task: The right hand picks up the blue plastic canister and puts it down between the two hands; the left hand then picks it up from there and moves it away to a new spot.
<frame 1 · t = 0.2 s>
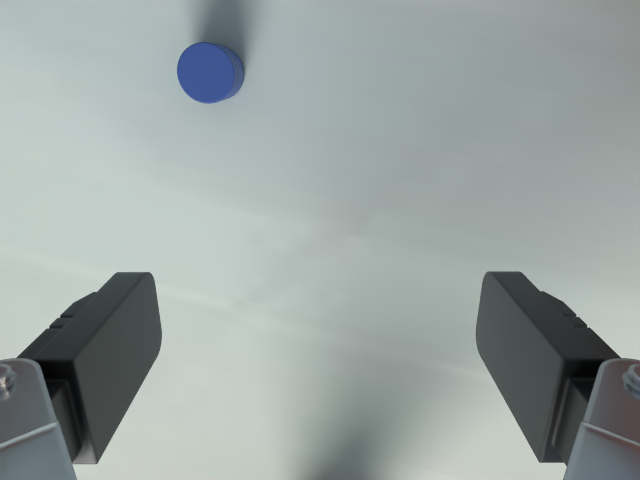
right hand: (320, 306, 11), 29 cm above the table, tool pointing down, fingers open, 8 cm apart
canister: (218, 72, 36), on the table
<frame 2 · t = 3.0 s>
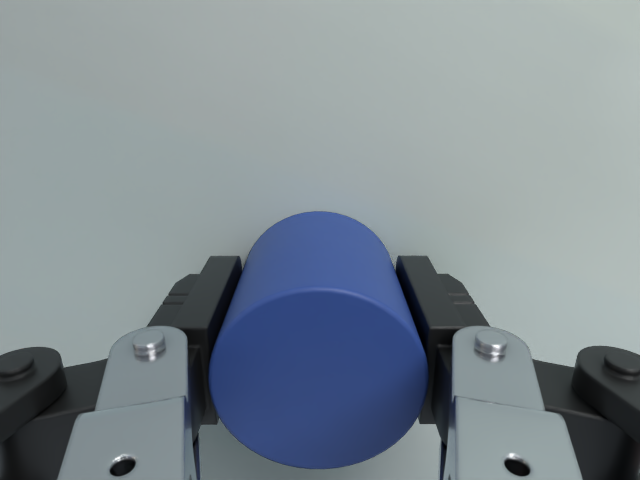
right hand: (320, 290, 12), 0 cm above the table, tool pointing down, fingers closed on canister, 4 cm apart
canister: (318, 281, 12), on the table, touching right hand
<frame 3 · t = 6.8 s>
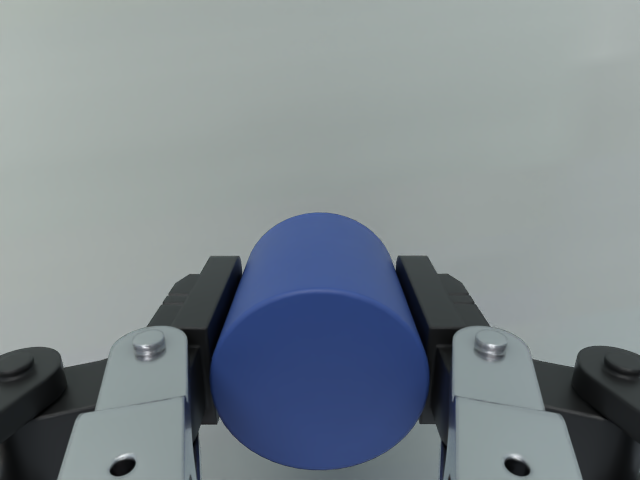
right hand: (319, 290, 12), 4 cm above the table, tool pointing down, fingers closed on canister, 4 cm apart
canister: (319, 282, 12), point 4 cm above the table, touching right hand
when the right hand's fingers open (1 cm above the table, at t = 10.8 s): canister stays where it is, on the table.
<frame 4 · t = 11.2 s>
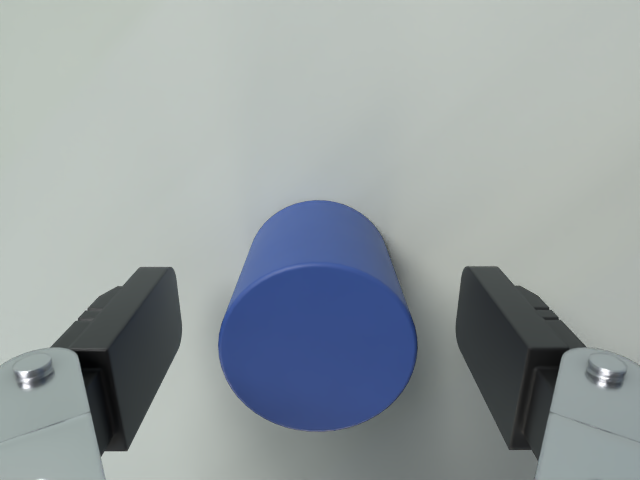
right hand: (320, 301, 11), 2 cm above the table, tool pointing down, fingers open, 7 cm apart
canister: (318, 266, 13), on the table
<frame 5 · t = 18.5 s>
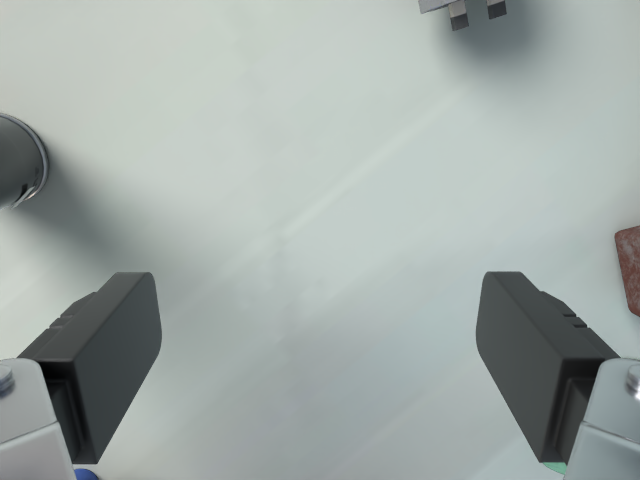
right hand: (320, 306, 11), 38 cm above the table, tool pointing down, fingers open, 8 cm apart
canister: (83, 479, 65), on the table, touching left hand
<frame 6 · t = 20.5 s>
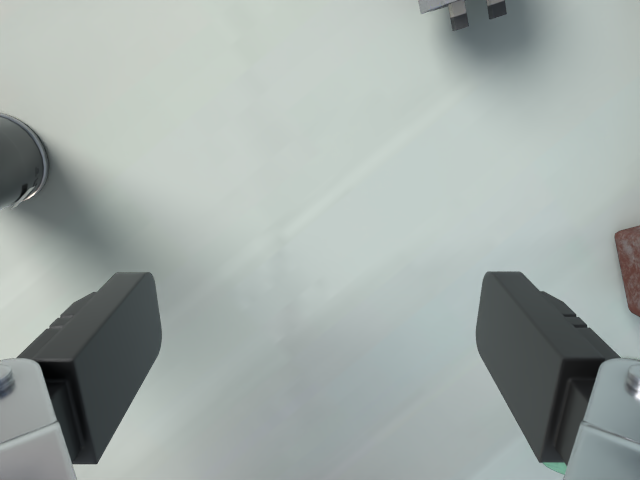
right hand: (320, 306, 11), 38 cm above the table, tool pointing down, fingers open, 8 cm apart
when the left hand's fingers open (2 cm above the table, at t = 22.7 s): canister stays where it is, on the table.
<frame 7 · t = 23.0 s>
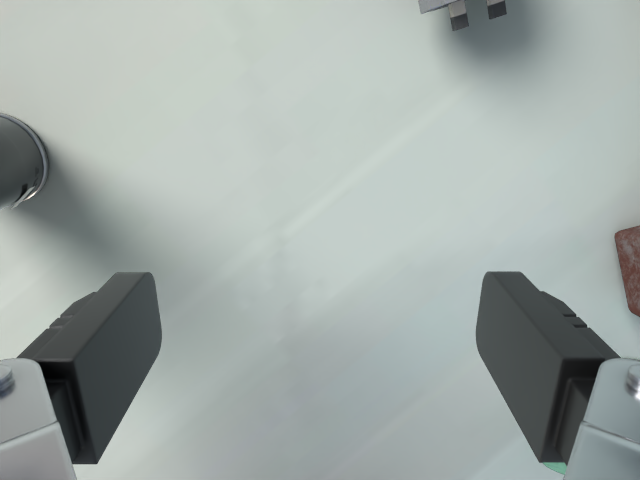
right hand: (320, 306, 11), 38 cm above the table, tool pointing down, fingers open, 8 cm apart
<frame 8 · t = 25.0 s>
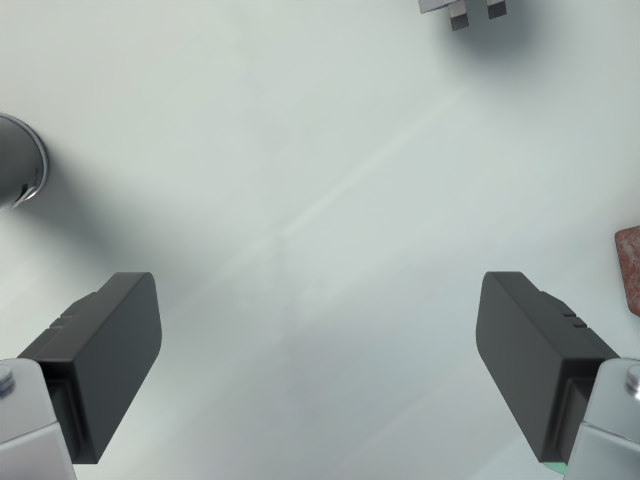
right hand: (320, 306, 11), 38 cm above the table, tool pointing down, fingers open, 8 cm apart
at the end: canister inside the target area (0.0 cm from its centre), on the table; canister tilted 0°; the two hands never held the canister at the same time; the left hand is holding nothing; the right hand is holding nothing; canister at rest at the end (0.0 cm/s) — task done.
